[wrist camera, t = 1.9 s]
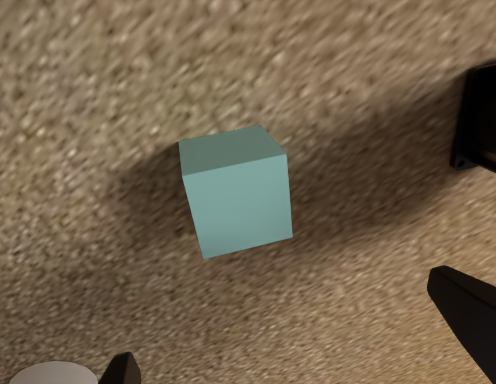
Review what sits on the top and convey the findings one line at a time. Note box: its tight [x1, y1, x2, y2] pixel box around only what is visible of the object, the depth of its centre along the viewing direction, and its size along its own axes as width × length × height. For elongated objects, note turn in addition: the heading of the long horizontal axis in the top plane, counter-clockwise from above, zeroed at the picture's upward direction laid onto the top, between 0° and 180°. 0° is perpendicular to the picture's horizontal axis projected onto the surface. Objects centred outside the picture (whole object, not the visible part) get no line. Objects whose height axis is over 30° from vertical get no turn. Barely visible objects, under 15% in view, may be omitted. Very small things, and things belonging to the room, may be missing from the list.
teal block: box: [178, 125, 293, 259], centre depth 17 cm, size 4×4×4 cm
